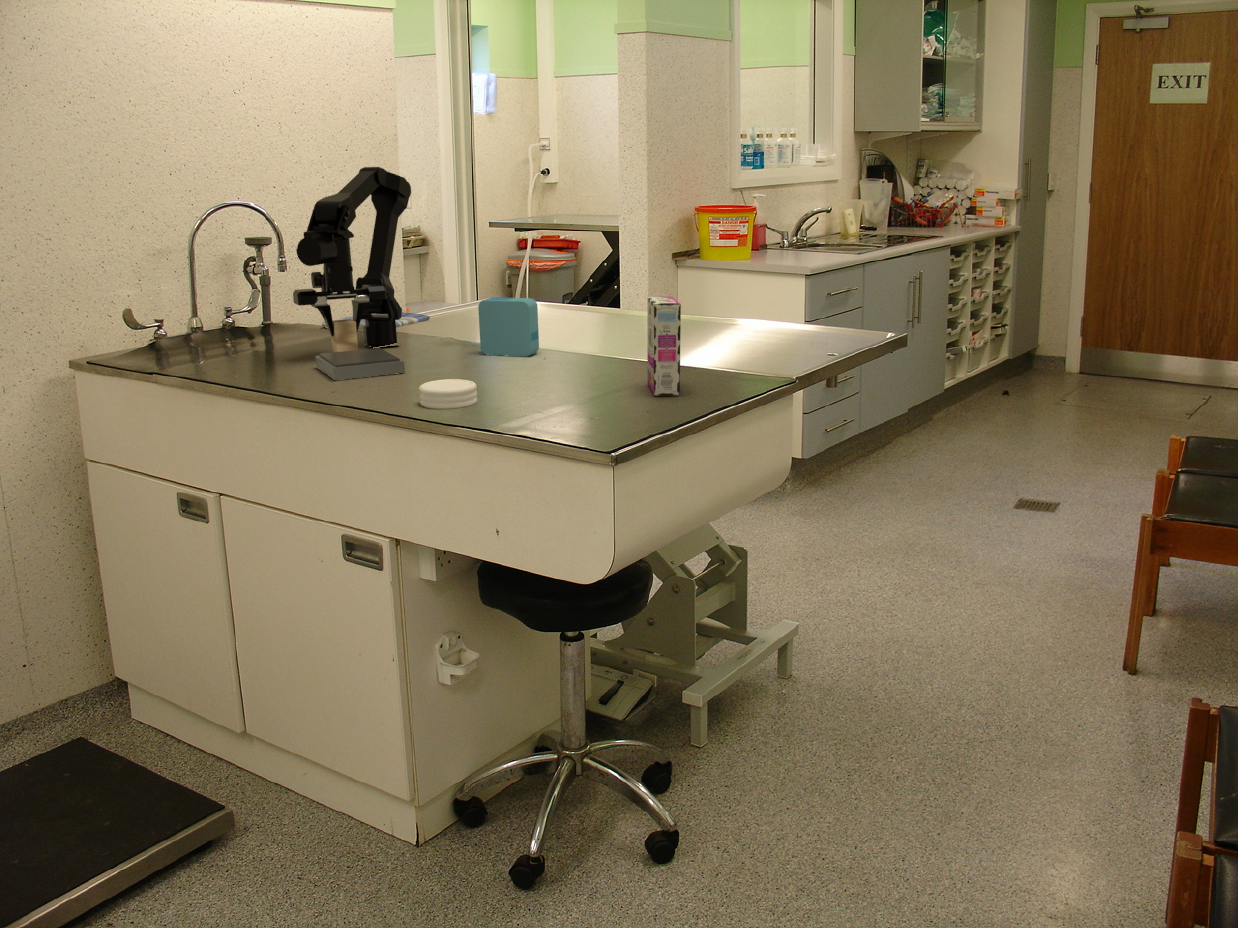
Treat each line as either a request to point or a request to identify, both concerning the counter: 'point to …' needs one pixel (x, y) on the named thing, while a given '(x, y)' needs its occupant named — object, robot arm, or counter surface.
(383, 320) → the robot arm
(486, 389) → the counter surface
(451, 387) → the coaster
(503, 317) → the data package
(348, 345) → the oak block
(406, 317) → the dish towel
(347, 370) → the plate
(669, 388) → the candy bar box
